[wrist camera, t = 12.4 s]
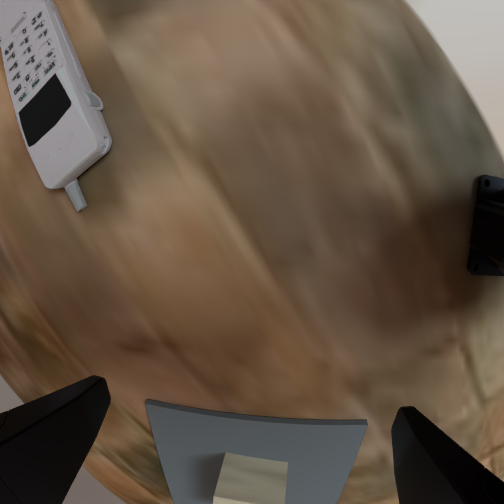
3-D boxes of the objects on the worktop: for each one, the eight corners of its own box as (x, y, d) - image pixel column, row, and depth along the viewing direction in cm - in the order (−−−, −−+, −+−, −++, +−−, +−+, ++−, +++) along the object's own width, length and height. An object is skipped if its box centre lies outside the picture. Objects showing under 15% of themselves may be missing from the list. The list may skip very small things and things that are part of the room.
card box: (272, 502, 26) (267, 539, 21) (220, 493, 27) (210, 530, 22) (288, 462, 24) (284, 507, 19) (225, 452, 24) (213, 496, 20)
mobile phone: (9, -59, 9) (84, 176, 14) (47, -39, 15) (139, 169, 19) (-35, -9, 11) (22, 233, 15) (6, 4, 17) (79, 214, 21)
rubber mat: (366, 419, 22) (367, 424, 22) (327, 517, 27) (327, 521, 27) (147, 399, 24) (145, 403, 24) (175, 501, 29) (174, 504, 29)
